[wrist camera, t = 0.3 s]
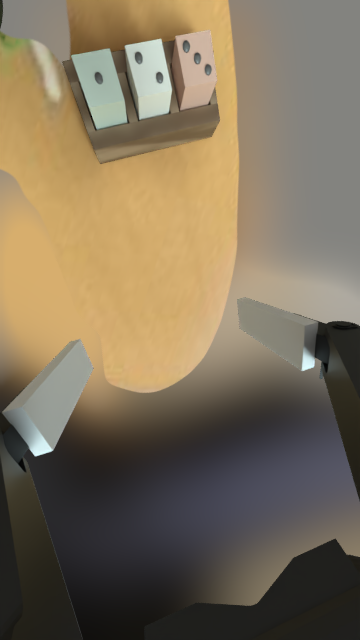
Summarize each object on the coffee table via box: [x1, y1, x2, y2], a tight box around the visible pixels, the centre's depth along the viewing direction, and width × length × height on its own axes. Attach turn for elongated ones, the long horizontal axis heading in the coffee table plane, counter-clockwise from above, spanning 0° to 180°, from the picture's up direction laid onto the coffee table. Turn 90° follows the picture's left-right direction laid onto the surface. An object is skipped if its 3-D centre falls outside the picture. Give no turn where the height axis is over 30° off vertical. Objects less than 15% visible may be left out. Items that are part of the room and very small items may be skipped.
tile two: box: [125, 39, 172, 121], centre depth 25 cm, size 5×5×5 cm
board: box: [62, 40, 220, 164], centre depth 28 cm, size 10×22×4 cm, turn 106°
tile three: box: [171, 30, 217, 112], centre depth 26 cm, size 5×5×5 cm
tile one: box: [71, 48, 128, 130], centre depth 25 cm, size 5×5×5 cm
